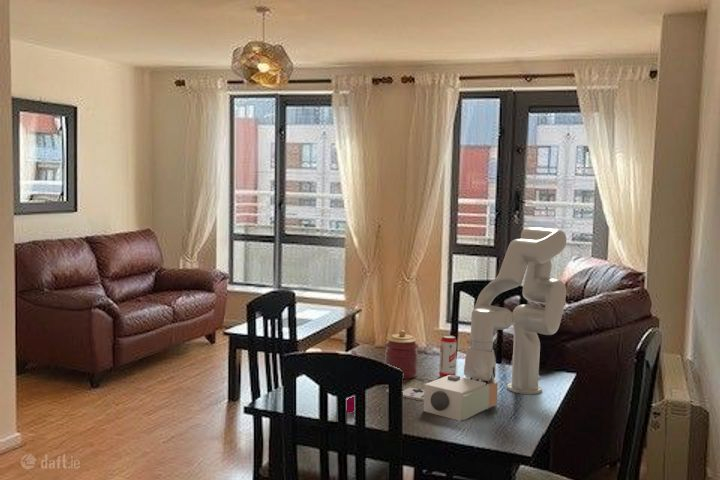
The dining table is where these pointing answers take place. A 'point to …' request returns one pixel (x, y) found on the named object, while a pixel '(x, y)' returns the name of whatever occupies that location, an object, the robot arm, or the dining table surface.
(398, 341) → the canister
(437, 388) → the block
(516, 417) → the dining table surface
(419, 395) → the handheld gaming console
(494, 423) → the dining table surface
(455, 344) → the beer can
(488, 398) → the side door
